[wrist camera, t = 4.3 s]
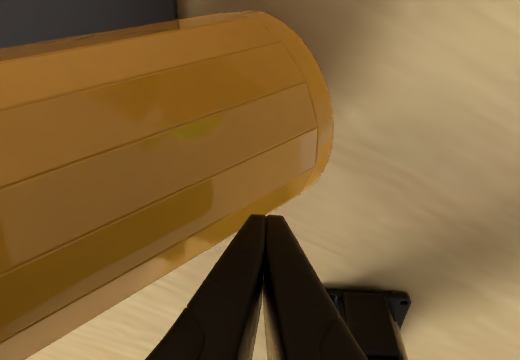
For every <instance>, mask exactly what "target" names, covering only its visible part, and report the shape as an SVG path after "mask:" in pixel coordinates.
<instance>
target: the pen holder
mask: <svg viewBox="0 0 520 360" xmlns="http://www.w3.org/2000/svg"><path fill="white" fill-rule="evenodd" d="M333 128H334V124H333V111H332V106H331V100H330V96H329V92H328V89H327V85H326V82H325V80H324V77H323V75H322V72H321V70H320V68H319V66H318V64H317V62H316V60H315V58H314V56H313V55H312V53H311V52H310V50H309V49H308V47H307V46H306V44H305V43H304V42H303V41H302V40H301V38H300V37H299V36H298V35H297V34H296V33H295V32H294V31H293V30H292V29H291V28H290V27H289V26H287V25H286V24H285V23H283V22H282V21H280V20H279V19H277V18H275V17H273V16H271V15H269V14H266V13H263V12H259V11H241V12H235V13H227V12H222V13H216V14H210V15H204V16H197V17H191V18H185V19H179V20H173V21H167V22H160V23H154V24H148V25H142V26H136V27H130V28H124V29H117V30H111V31H105V32H99V33H93V34H87V35H80V36H74V37H68V38H62V39H56V40H50V41H44V42H37V43H31V44H25V45H19V46H13V47H7V48H0V360H25V359H26V358H28V357H30V356H31V355H33V354H35V353H36V352H38V351H40V350H41V349H43V348H45V347H46V346H48V345H50V344H51V343H53V342H55V341H56V340H58V339H60V338H61V337H63V336H65V335H66V334H68V333H70V332H71V331H73V330H75V329H76V328H78V327H80V326H81V325H83V324H85V323H86V322H88V321H90V320H91V319H93V318H94V317H96V316H98V315H99V314H101V313H103V312H104V311H106V310H108V309H109V308H111V307H113V306H114V305H116V304H118V303H119V302H121V301H123V300H124V299H126V298H128V297H129V296H131V295H133V294H134V293H136V292H138V291H139V290H141V289H143V288H144V287H146V286H148V285H149V284H151V283H153V282H154V281H156V280H158V279H159V278H161V277H163V276H164V275H166V274H168V273H169V272H171V271H173V270H174V269H176V268H178V267H179V266H181V265H183V264H184V263H186V262H188V261H189V260H191V259H193V258H194V257H196V256H198V255H199V254H201V253H203V252H204V251H206V250H207V249H209V248H211V247H212V246H214V245H216V244H217V243H219V242H221V241H222V240H224V239H226V238H227V237H229V236H231V235H232V234H234V233H236V232H237V231H239V230H240V229H241V227H242V226H243V224H244V223H245V221H246V220H247V218H248V217H249V216H250V215H251V214H260V215H266V214H267V213H269V212H271V211H272V210H274V209H276V208H277V207H279V206H281V205H282V204H284V203H286V202H287V201H289V200H291V199H292V198H294V197H296V196H297V195H299V194H300V193H301V192H303V191H304V190H306V189H308V188H309V187H310V186H312V185H313V184H314V183H315V182H316V181H317V180H318V179H319V177H320V176H321V174H322V173H323V171H324V169H325V167H326V165H327V163H328V160H329V157H330V153H331V149H332V143H333Z"/></svg>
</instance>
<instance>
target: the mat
mask: <svg viewBox="0 0 520 360" xmlns="http://www.w3.org/2000/svg"><path fill="white" fill-rule="evenodd" d="M173 20H178V16H177V6H176V0H0V48H7V47H13V46H19V45H25V44H31V43H37V42H44V41H50V40H56V39H62V38H68V37H74V36H80V35H87V34H93V33H99V32H105V31H111V30H117V29H124V28H130V27H136V26H142V25H148V24H154V23H160V22H167V21H173Z"/></svg>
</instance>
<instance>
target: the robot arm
mask: <svg viewBox="0 0 520 360" xmlns="http://www.w3.org/2000/svg"><path fill="white" fill-rule="evenodd" d="M263 277H264V279H263ZM262 294H263V309H264V322H265V334H266V346H267V358H268V360H408V358H407V355H406V351H405V348H404V344H403V341H402V337H401V334H400V328H401V326H402V323H403V321H404V319H405V316H406V314H407V311H408V309H409V307H410V304H411V299H410V296H409V295H408V294H406V293H393V292H372V291H351V290H330V289H325V288H324V286H323V284H322V283H321V281H320V279H319V278H318V276H317V274H316V272H315V271H314V269H313V267H312V265H311V264H310V262H309V260H308V259H307V257H306V255H305V253H304V252H303V250H302V248H301V247H300V245H299V243H298V241H297V240H296V238H295V236H294V234H293V233H292V231H291V229H290V228H289V226H288V224H287V222H286V221H285V219H284V217H283V216H280V215H268V216H267V218H266V216H265V215H260V214H251V215H250V216H249V217H248V218H247V220H246V221H245V223H244V224H243V226H242V227H241V229H240V230H239V231H238V233H237V234H236V236H235V237H234V239H233V240H232V241H231V243H230V244H229V246H228V247H227V249H226V250H225V251H224V253H223V254H222V256H221V257H220V259H219V260H218V262H217V263H216V264H215V266H214V267H213V269H212V270H211V272H210V273H209V274H208V276H207V277H206V279H205V280H204V282H203V283H202V285H201V286H200V287H199V289H198V290H197V292H196V293H195V295H194V296H193V297H192V299H191V300H190V302H189V303H188V305H187V308H185V309H184V310H183V312H182V313H181V314H180V316H179V317H178V319H177V320H176V322H175V323H174V324H173V326H172V327H171V328H170V330H169V331H168V332H167V334H166V335H165V336H164V338H163V339H162V340H161V341H160V342H159V344H158V345H157V346H156V347H155V348H154V350H153V351H152V352H151V353H150V354H149V356H148V357H147V358H146V359H145V360H252V355H253V350H254V344H255V338H256V333H257V327H258V321H259V315H260V310H261V303H262Z"/></svg>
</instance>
